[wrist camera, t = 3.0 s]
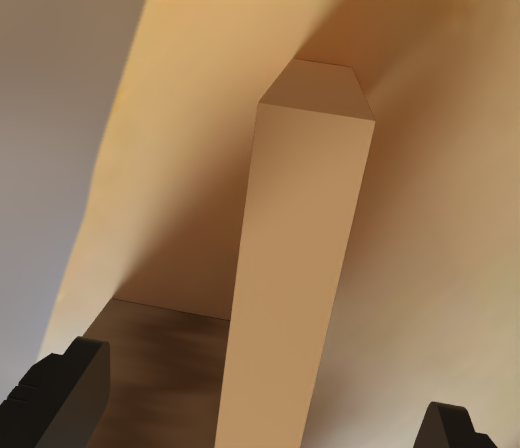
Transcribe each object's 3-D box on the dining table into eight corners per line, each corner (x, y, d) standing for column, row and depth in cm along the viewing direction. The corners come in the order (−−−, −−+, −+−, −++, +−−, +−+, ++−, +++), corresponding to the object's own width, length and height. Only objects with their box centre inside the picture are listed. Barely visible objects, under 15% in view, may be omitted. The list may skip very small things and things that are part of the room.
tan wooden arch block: (351, 67, 24) (375, 121, 12) (307, 287, 29) (293, 474, 17) (292, 58, 24) (258, 102, 12) (259, 278, 29) (213, 457, 18)
